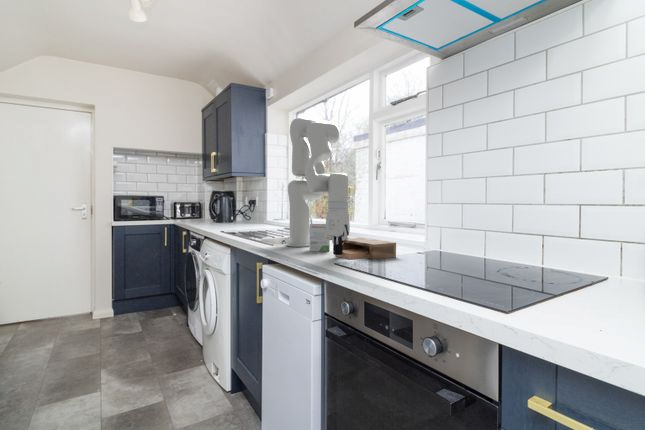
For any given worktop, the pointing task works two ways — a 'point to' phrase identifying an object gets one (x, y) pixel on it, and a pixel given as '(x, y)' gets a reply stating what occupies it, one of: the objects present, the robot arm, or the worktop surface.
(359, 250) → the tile
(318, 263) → the worktop surface
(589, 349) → the worktop surface
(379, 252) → the shelf
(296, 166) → the robot arm
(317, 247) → the ink box
